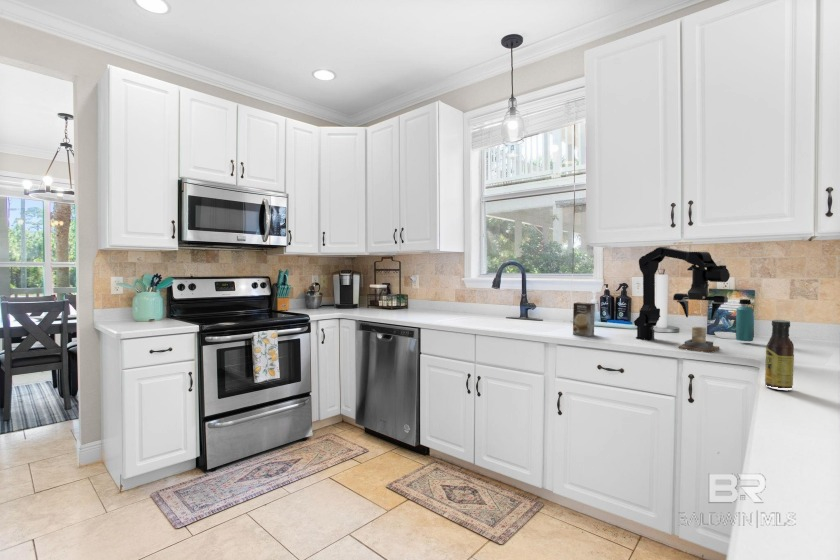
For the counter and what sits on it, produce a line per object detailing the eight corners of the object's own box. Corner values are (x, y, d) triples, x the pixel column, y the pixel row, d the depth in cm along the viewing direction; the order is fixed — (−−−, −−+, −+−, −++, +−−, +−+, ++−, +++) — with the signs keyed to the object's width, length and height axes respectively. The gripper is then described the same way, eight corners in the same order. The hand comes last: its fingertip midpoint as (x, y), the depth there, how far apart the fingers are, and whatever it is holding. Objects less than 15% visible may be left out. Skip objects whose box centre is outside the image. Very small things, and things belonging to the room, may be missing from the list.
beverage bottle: (756, 345, 193) (757, 299, 193) (739, 344, 195) (740, 299, 194) (748, 342, 200) (749, 298, 199) (732, 341, 201) (733, 298, 200)
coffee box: (572, 334, 223) (572, 303, 222) (576, 332, 228) (577, 302, 227) (590, 336, 217) (590, 304, 216) (594, 334, 222) (595, 303, 221)
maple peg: (691, 346, 185) (692, 327, 185) (694, 345, 188) (695, 326, 188) (702, 347, 182) (703, 328, 182) (705, 346, 185) (705, 327, 185)
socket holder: (678, 348, 186) (678, 341, 185) (687, 344, 194) (687, 338, 193) (711, 352, 177) (711, 345, 177) (719, 348, 185) (719, 341, 185)
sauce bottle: (765, 384, 130) (766, 318, 129) (792, 388, 126) (794, 320, 125) (764, 389, 125) (766, 320, 124) (793, 393, 121) (795, 322, 120)
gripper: (669, 281, 186) (668, 317, 186) (721, 282, 172) (720, 322, 172) (678, 280, 193) (677, 315, 194) (728, 281, 179) (727, 319, 180)
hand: (699, 318), depth 185 cm, fingers open, 9 cm apart
